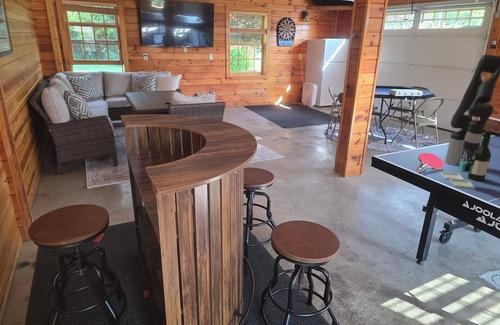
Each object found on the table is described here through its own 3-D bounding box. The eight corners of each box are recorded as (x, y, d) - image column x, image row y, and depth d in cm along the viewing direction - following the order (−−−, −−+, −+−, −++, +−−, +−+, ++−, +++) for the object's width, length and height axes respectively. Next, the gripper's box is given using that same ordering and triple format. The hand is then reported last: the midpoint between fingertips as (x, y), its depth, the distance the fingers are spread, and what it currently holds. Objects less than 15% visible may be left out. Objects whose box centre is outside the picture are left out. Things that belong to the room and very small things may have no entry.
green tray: (449, 180, 192) (449, 178, 191) (468, 182, 189) (469, 180, 189) (454, 187, 182) (455, 185, 182) (474, 189, 180) (475, 187, 180)
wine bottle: (477, 176, 198) (490, 128, 188) (487, 182, 191) (501, 132, 181) (464, 176, 198) (476, 128, 188) (473, 182, 190) (486, 132, 180)
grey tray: (440, 173, 202) (440, 171, 202) (458, 175, 200) (458, 173, 199) (445, 179, 193) (445, 177, 193) (463, 181, 191) (464, 179, 190)
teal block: (458, 168, 186) (460, 160, 184) (468, 169, 185) (470, 161, 183) (461, 171, 182) (463, 163, 180) (471, 172, 180) (473, 164, 179)
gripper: (460, 136, 185) (453, 164, 190) (469, 143, 172) (461, 173, 177) (475, 137, 183) (468, 165, 189) (485, 144, 170) (477, 175, 176)
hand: (465, 169), depth 183 cm, fingers closed on teal block, 5 cm apart
